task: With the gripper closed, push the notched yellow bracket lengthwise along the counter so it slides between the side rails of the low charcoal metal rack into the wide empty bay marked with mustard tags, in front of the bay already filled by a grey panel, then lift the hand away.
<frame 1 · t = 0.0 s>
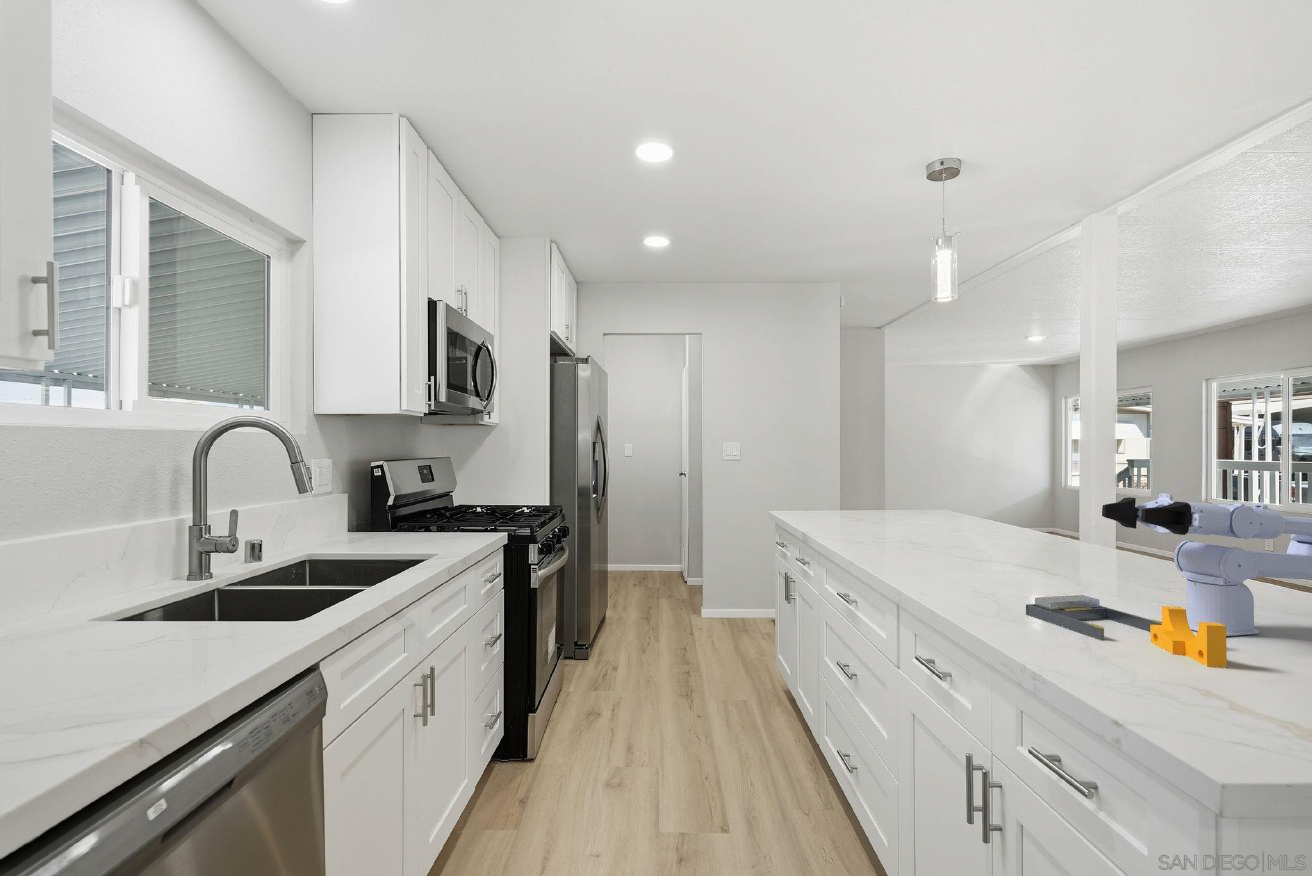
hand: (1122, 512, 114), 22 cm above the worktop, tool horizontal, fingers open, 7 cm apart
notched yellow bracket: (1186, 656, 104), on the worktop
rack: (1104, 628, 119), on the worktop
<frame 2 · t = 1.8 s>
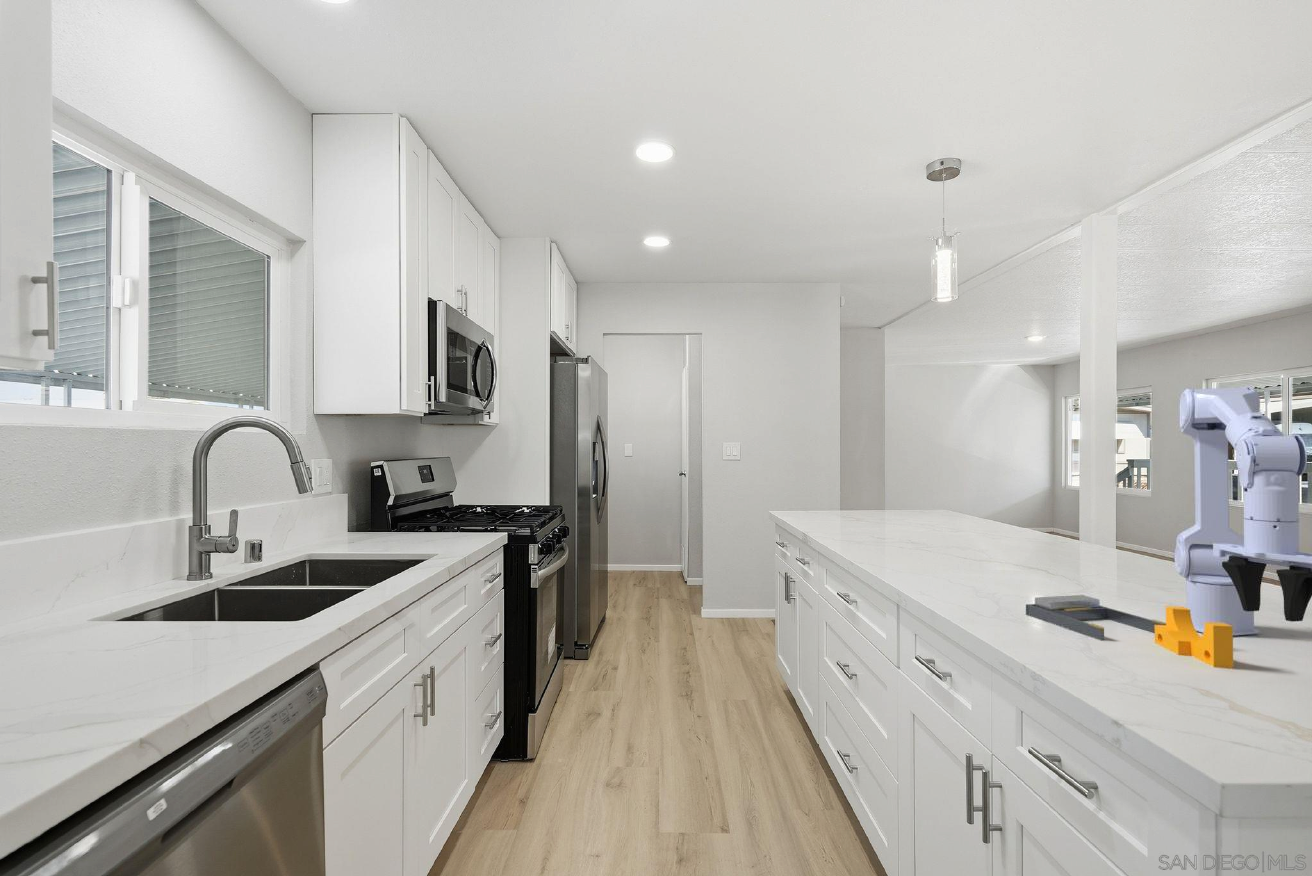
hand: (1272, 615, 92), 9 cm above the worktop, tool pointing down, fingers open, 5 cm apart
nothing on the worktop moved.
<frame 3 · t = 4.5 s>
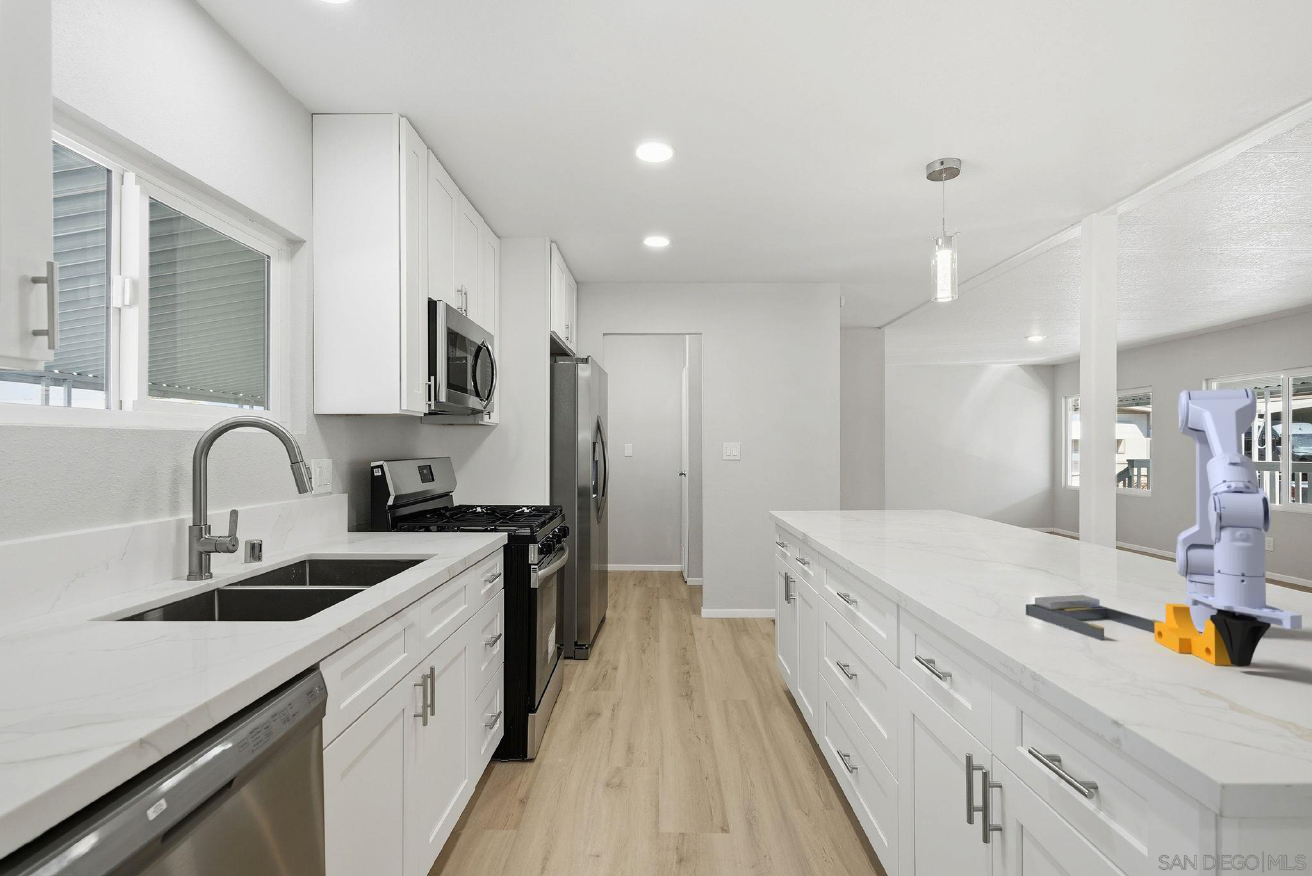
hand: (1240, 664, 96), 1 cm above the worktop, tool pointing down, fingers closed
notched yellow bracket: (1191, 653, 105), on the worktop, touching gripper
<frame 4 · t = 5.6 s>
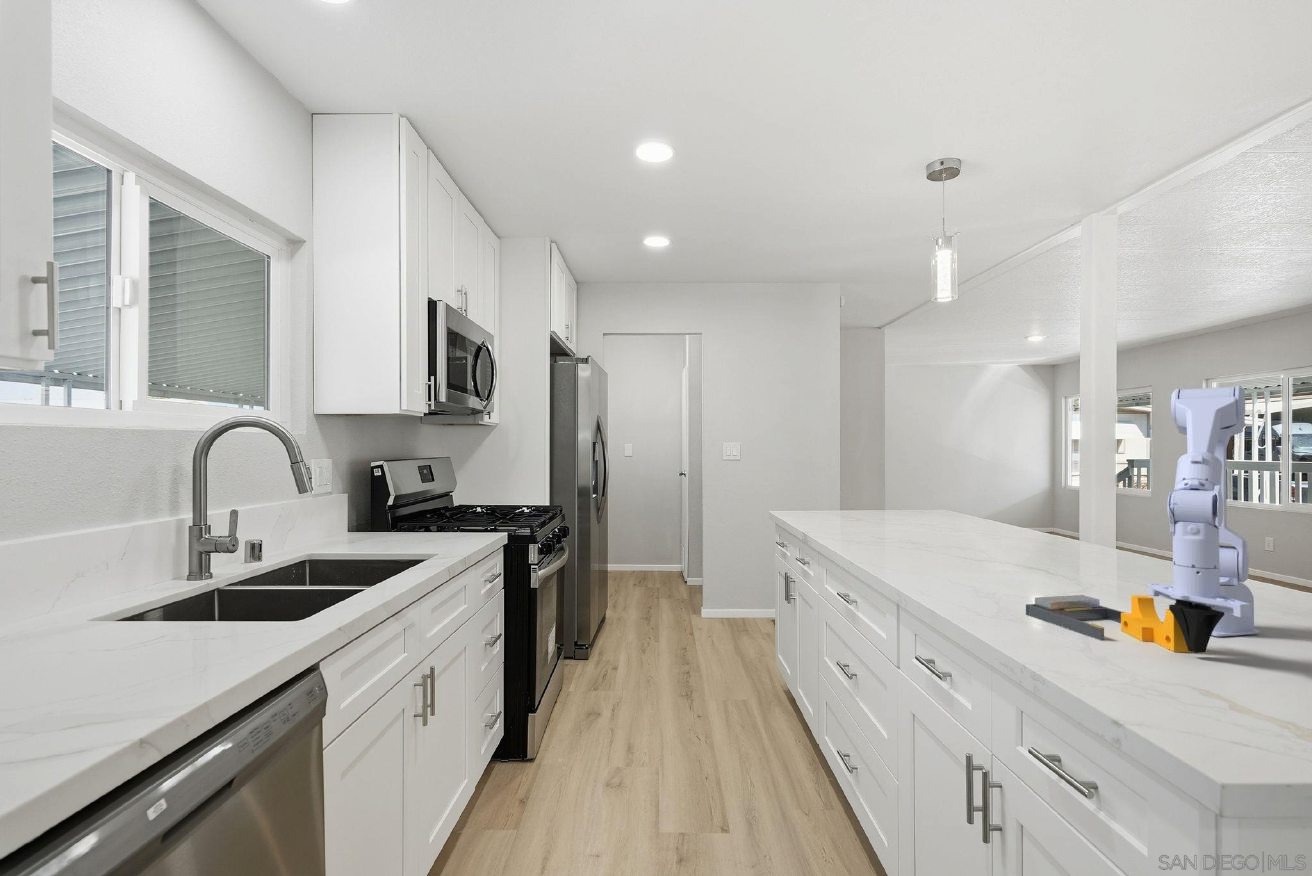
hand: (1196, 651, 103), 1 cm above the worktop, tool pointing down, fingers closed
notched yellow bracket: (1154, 642, 111), on the worktop, touching gripper
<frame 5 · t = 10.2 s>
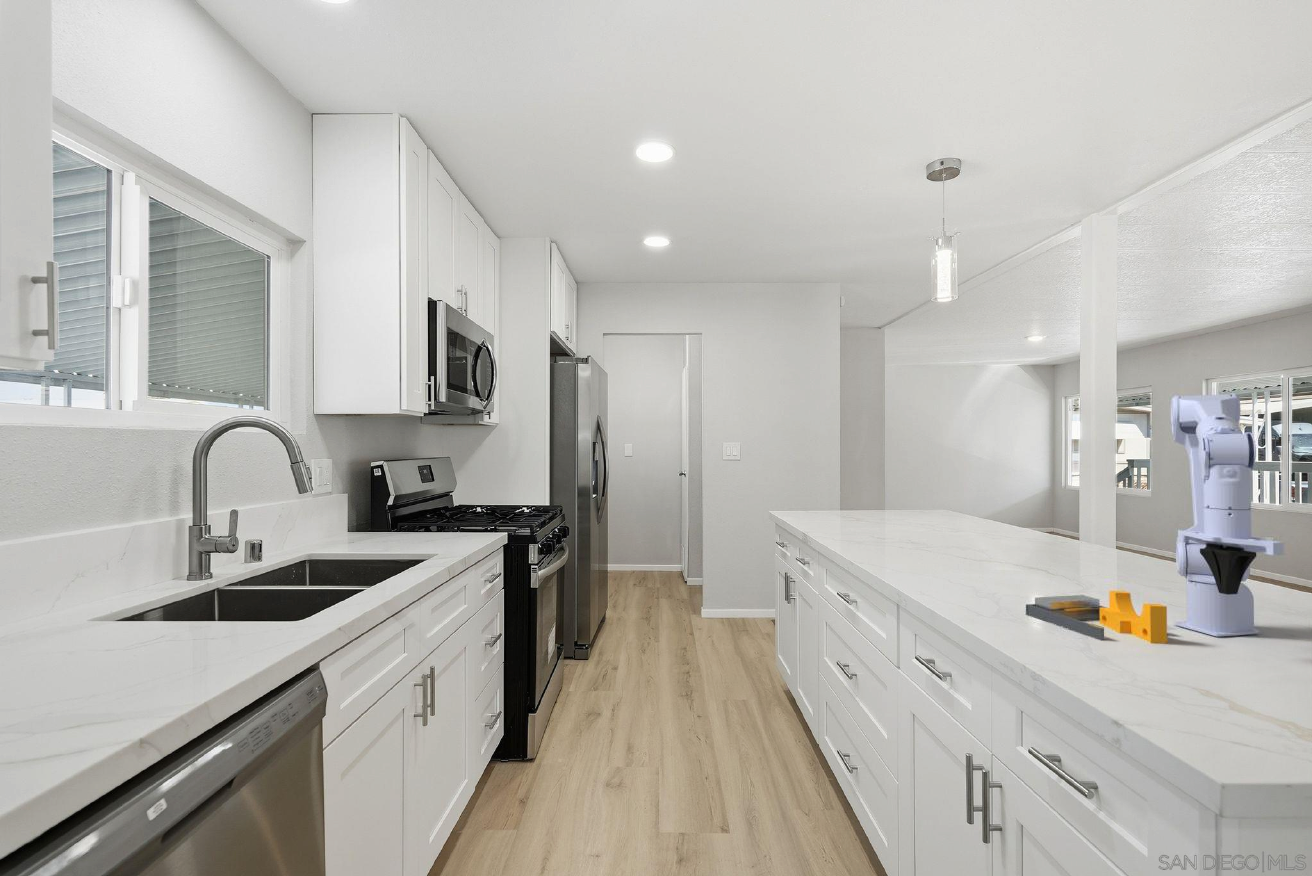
hand: (1228, 593, 104), 10 cm above the worktop, tool pointing down, fingers closed
notched yellow bracket: (1131, 635, 116), on the worktop
at the end: notched yellow bracket inside the target area on the rack (4.3 cm from its centre), point 0.0 cm above the rack's base; notched yellow bracket moved 11.8 cm from its start; the gripper is holding nothing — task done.
